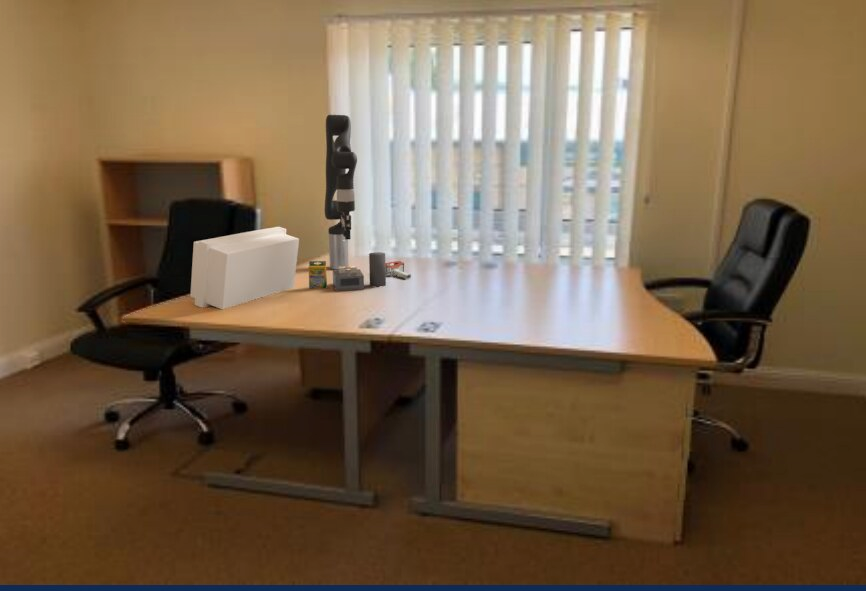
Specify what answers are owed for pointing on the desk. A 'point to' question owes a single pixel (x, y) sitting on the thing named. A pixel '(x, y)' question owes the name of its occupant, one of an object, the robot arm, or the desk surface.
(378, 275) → the grey round-ended cylinder
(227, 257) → the light box
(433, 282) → the desk surface
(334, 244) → the robot arm
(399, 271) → the tape dispenser
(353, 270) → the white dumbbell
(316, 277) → the crayon box
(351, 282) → the panel
